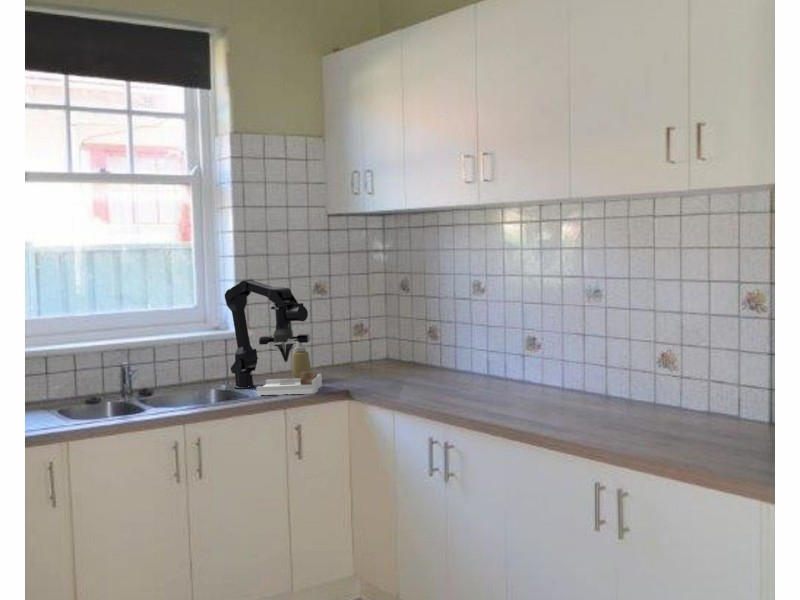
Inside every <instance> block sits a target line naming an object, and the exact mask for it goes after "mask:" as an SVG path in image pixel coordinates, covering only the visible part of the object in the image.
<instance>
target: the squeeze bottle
mask: <svg viewBox="0 0 800 600" xmlns="http://www.w3.org/2000/svg"><path fill="white" fill-rule="evenodd" d="M291 356H292V357H291V359H292V360H291V376H292V379H295V378H300V373H302V372H305V371H312V367H311V361H310V354H309V352H308V351H307V347H306V346H304V344H303V343H299V342H298V341H296V346H295V347H294V352H293V353H292V355H291Z"/></svg>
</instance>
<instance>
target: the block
mask: <svg viewBox="0 0 800 600" xmlns="http://www.w3.org/2000/svg"><path fill="white" fill-rule="evenodd" d="M316 376H317V375H316V371H315V370H311V371H305V372H302V373H300V381H301V385H312V380H313V379H314V378H315V377H316Z"/></svg>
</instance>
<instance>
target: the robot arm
mask: <svg viewBox="0 0 800 600" xmlns="http://www.w3.org/2000/svg"><path fill="white" fill-rule="evenodd" d="M251 293H255V294H257V295H260V296H264V297H266V298H268V300H269V301H270V302H272V303H273V305H272V306H271V307H270V309H271V310H274V311H275V312H274V313H275V324H276V325H275V330H274V333H273V336H272V335H262V336H260V337H259V339H258V345H260V346H261V345H268V344H269V343H274V347H277V348H278V349H279V351H280V353H281V355H282V358H283V361H284V362H285V363H286V362H288V361H289V356H290V354H291V351H292V348H293V346H294V345H297V342H299V343H302V344H303V343H306V344H307V343H309V342H310V341H311V336H310V333H299V334H297V335H296V336H295V335H294V332H293V327H292V322H305V321H306V320H307V319H308V316H309V311H308V309H307V308H306V306H304V303H303V302H298V301H297V299H296V297H295V295H294V294H293V293H292V291H291V289H290V288H289V287H284V286H282V287H280V286H279V287H278V286H277V287H276V286H271V285H269V284H265V283H262V282H259V281H256V280H254V279H252V278H250V279H242V280H241V281H240V282H239V283H238V284H236V285H234V286H232V287H231V288H229V289H227V290H226V291H225V293H224V300H225V304H226V306H227V308H228V309H229V311H230V312H231V314H232V315H231V316H232V321H233V328H234V332H235V339H236V344H237V348H236V351H235V353H234V361H233V364H232V365H231V367H230V372H231V374H234V376H235V378H234V379H235V387H236V386H238V387H248V386H249V387H250V386H253V385H254V386H255V376H254V374H253V372H254V371H256V368H257V364H258V360H259V357H258V352H257V351H258V350H257V348H253V347H252V346H251V341H250V335H249V330H248V323H247V318H246V311H245V309H246V307H247V304H248V297H249V296H250V295H251ZM254 386H253V387H254Z"/></svg>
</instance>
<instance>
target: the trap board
mask: <svg viewBox="0 0 800 600" xmlns="http://www.w3.org/2000/svg"><path fill="white" fill-rule="evenodd" d="M322 380H323V379H322V373H318V374H317V375H316V377H315V378H314V379H313V380H312V385H301V381H300V378H295V379H294V378H275V379H274V378H273V379H265V384H264V385H263V386H256V396H257V397H262V396H261V395H270V394H271V395H272V394H305V395H308V394H307V393H316V392H317V393H318V392H319V390H320V389H321V388H322V387H323V381H322ZM321 386H322V387H321ZM320 387H321V388H320ZM319 388H320V389H319ZM318 389H319V390H318ZM317 393H316V394H317Z"/></svg>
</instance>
